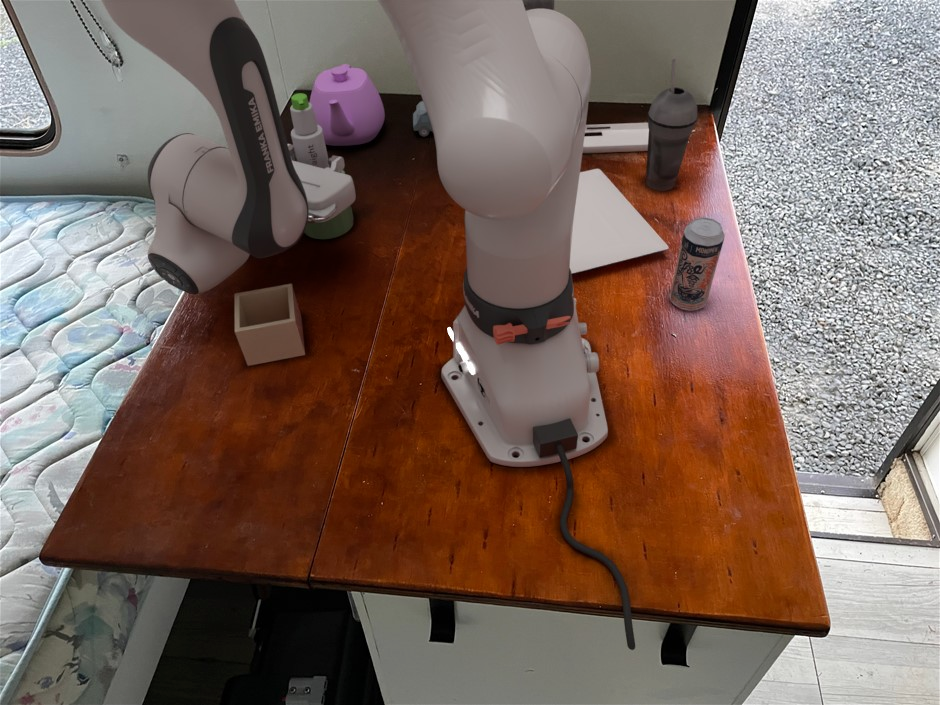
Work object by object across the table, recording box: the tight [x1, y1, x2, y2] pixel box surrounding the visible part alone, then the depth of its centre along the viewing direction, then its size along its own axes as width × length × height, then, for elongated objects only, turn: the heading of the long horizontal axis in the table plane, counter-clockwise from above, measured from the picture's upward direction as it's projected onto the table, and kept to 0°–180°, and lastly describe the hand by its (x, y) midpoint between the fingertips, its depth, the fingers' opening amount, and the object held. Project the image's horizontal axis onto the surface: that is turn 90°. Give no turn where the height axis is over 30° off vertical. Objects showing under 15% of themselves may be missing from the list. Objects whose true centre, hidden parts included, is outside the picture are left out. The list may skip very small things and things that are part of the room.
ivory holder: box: [234, 283, 306, 367], centre depth 90 cm, size 7×7×6 cm
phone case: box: [582, 122, 649, 154], centre depth 122 cm, size 7×1×15 cm
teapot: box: [308, 63, 386, 147], centre depth 123 cm, size 20×13×12 cm, turn 2°
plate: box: [570, 168, 670, 275], centre depth 105 cm, size 22×22×2 cm
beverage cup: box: [645, 58, 699, 192], centre depth 106 cm, size 7×7×20 cm
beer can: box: [669, 217, 725, 311], centre depth 90 cm, size 5×5×12 cm
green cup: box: [303, 169, 355, 240], centre depth 106 cm, size 8×8×8 cm
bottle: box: [289, 92, 329, 169], centre depth 102 cm, size 4×4×20 cm
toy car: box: [412, 100, 433, 138], centre depth 127 cm, size 6×10×5 cm, turn 93°
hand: (316, 154), depth 102 cm, fingers open, 7 cm apart
